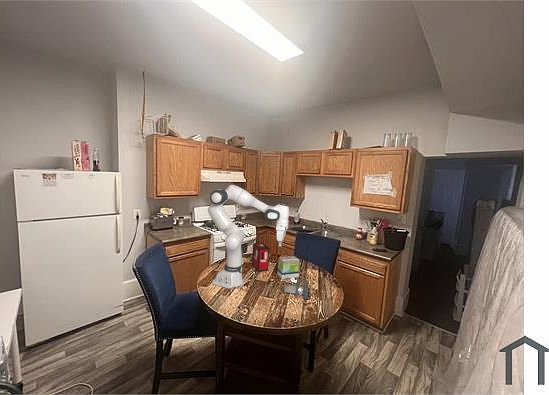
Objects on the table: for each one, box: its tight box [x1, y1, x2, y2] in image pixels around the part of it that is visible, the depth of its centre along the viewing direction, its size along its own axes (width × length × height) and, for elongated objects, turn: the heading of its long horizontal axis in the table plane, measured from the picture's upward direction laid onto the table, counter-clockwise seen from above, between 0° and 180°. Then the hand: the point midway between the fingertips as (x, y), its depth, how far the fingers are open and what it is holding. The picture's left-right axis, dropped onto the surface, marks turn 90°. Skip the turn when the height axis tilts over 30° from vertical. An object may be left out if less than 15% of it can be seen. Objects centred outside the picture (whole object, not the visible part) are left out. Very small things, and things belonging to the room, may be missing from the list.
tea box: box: [276, 255, 301, 280], centre depth 182 cm, size 15×10×15 cm
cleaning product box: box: [251, 241, 270, 273], centre depth 195 cm, size 16×9×20 cm, turn 25°
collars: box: [294, 279, 313, 299], centre depth 156 cm, size 11×10×9 cm
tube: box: [283, 284, 312, 297], centre depth 156 cm, size 18×5×5 cm, turn 79°
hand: (281, 244), depth 165 cm, fingers open, 8 cm apart
